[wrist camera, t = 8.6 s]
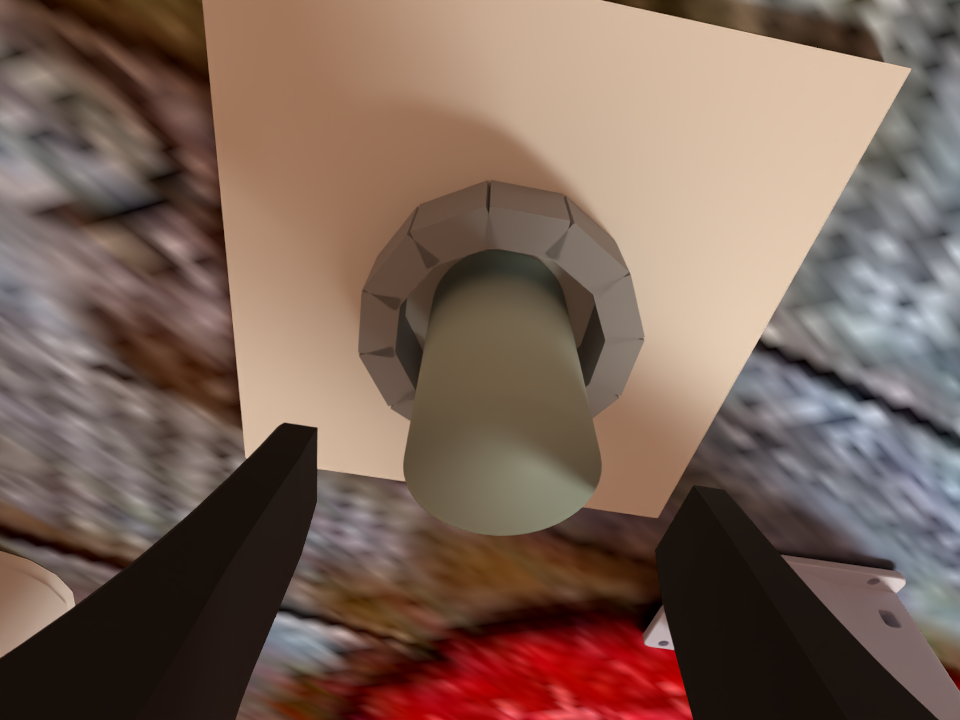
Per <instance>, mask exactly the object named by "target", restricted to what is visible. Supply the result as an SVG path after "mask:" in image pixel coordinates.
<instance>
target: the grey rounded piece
mask: <svg viewBox="0 0 960 720" xmlns="http://www.w3.org/2000/svg"><path fill="white" fill-rule="evenodd" d="M403 472H404V477H405V481H406V484H407V486H408V489H409V491H410V493H411V494H412V496H413V497H414V499H415V500H416V501H417V502H418V503H419V504H420V505H421V507H423V508H424V509H425V510H426V511H427V512H428V513H430V514H431V515H433V516H434V517H436V518H437V519H439V520H441V521H442V522H444V523H446V524H448V525H451V526H453V527H456V528H458V529H462V530H465V531H469V532H473V533H478V534H485V535H501V536H505V535H519V534H526V533H531V532H535V531H539V530H542V529H545V528H549V527H551V526H553V525H556V524H558V523H560V522H562V521H564V520H565V519H567V518H569V517H570V516H572V515H573V514H575V513H576V512H577V511H578V510H580V509H581V508H582V507H583V506H584V505H585V504H586V503H587V501H588V500H589V499H590V498H591V496H592V495H593V493H594V492H595V490H596V488H597V486H598V483H599V481H600V476H601V472H602V460H601V454H600V449H599V445H598V441H597V436H596V432H595V428H594V423H593V419H592V414H591V410H590V406H589V401H588V397H587V392H586V388H585V384H584V379H583V375H582V371H581V366H580V362H579V357H578V353H577V349H576V344H575V340H574V336H573V331H572V327H571V322H570V318H569V314H568V309H567V305H566V300H565V296H564V293H563V290H562V287H561V285H560V283H559V281H558V279H557V278H556V277H555V275H554V274H553V273H552V272H551V271H550V269H549V268H548V267H546V266H545V265H544V264H543V263H541V262H540V261H538V260H537V259H535V258H533V257H531V256H529V255H526V254H523V253H518V252H512V251H507V250H488V251H483V252H479V253H476V254H473V255H470V256H468V257H466V258H464V259H462V260H461V261H459V262H458V263H456V264H455V265H454V266H452V267H451V268H450V269H449V270H448V271H447V272H446V274H445V275H444V276H443V277H442V279H441V280H440V282H439V284H438V286H437V288H436V290H435V293H434V297H433V302H432V307H431V313H430V318H429V324H428V329H427V334H426V340H425V345H424V351H423V356H422V361H421V367H420V372H419V378H418V383H417V388H416V394H415V399H414V405H413V410H412V416H411V421H410V426H409V432H408V437H407V443H406V448H405V453H404V461H403Z"/></svg>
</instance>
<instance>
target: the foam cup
mask: <svg viewBox="0 0 960 720" xmlns="http://www.w3.org/2000/svg"><path fill="white" fill-rule="evenodd" d="M74 606H75V602H74V597H73V592H72V591H71V590H70V589H69V587H68V586H67V585H66V584H65V583H64V582H63V581H62V580H61V579H60V578H59V577H58V576H57V575H56V574H54V573H52V572H50V571H48V570H47V569H45V568H43V567H41V566H40V565H38V564H36V563H34V562H33V561H31V560H28V559H25V558H22V557H19V556H15V555H12V554H9V553H6V552H3V551H0V658H1V657H2V656H4V655H5V654H7V653H8V652H10V651H11V650H13V649H14V648H16V647H17V646H19V645H20V644H22V643H23V642H25V641H26V640H27V639H29V638H30V637H32V636H33V635H35V634H36V633H37V632H39V631H40V630H42V629H43V628H45V627H46V626H47V625H49V624H50V623H52V622H53V621H55V620H56V619H57V618H59V617H60V616H62V615H63V614H65V613H66V612H67V611H69V610H70V609H72V608H73V607H74Z"/></svg>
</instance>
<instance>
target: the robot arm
mask: <svg viewBox="0 0 960 720" xmlns="http://www.w3.org/2000/svg"><path fill="white" fill-rule="evenodd" d="M317 439H318V428H317V427H311V426H304V425H298V424H291V423H285V422H284V423H282V424H281V425H279V426H278V427H277V428H276V429H275V430H274V431H273V432H272V433H271V434H270V435H269V436H268V438H267V439H266V440H265V441H264V442H263V443H262V444H261V445H260V446H259V447H258V448H257V449H256V450H255V451H254V452H253V453H252V454H251V455H250V456H249V457H248V458H247V459H246V460H245V461H244V462H243V463H242V464H241V465H240V466H239V467H238V468H237V469H236V470H235V471H234V472H233V473H232V474H231V475H230V476H229V477H228V478H227V479H226V480H225V481H224V482H223V483H222V484H221V485H220V486H219V487H218V488H217V489H216V490H215V491H214V492H212V493H211V494H210V495H209V496H208V497H207V498H206V499H205V500H204V501H203V502H202V503H201V504H200V505H199V506H198V507H197V508H195V509H194V510H193V511H192V512H191V513H190V514H189V515H188V516H187V517H185V518H184V519H183V520H182V521H181V522H180V523H178V524H177V525H176V526H175V527H174V528H173V529H171V530H170V531H169V532H168V533H167V534H166V535H164V536H163V537H162V538H161V539H160V540H159V541H157V542H156V543H155V544H154V545H153V546H152V547H150V548H149V549H148V550H147V551H146V552H144V553H143V554H142V555H141V556H140V557H138V558H137V559H136V560H135V561H133V562H132V563H131V564H130V565H128V566H127V567H126V568H125V569H123V570H122V571H121V572H120V573H118V574H117V575H116V576H114V577H113V578H112V579H111V580H109V581H108V582H107V583H105V584H104V585H103V586H101V587H100V588H99V589H97V590H96V591H95V592H93V593H92V594H91V595H89V596H88V597H87V598H85V599H84V600H83V601H81V602H80V603H79V604H77V605H76V606H74V607H73V608H72V609H70V610H69V611H67V612H66V613H65V614H63V615H62V616H60V617H59V618H57V619H56V620H55V621H53V622H52V623H50V624H49V625H47V626H46V627H45V628H43V629H42V630H40V631H39V632H37V633H36V634H35V635H33V636H32V637H30V638H29V639H27V640H26V641H25V642H23V643H22V644H20V645H19V646H17V647H16V648H14V649H13V650H11V651H10V652H8V653H7V654H5V655H4V656H2V657H1V658H0V720H235V719H236V716H237V713H238V710H239V707H240V704H241V701H242V698H243V695H244V693H245V690H246V687H247V685H248V682H249V680H250V677H251V674H252V672H253V669H254V667H255V665H256V662H257V660H258V657H259V655H260V653H261V650H262V648H263V645H264V643H265V641H266V638H267V636H268V634H269V631H270V629H271V626H272V624H273V622H274V619H275V617H276V614H277V612H278V610H279V607H280V605H281V602H282V600H283V598H284V595H285V593H286V590H287V588H288V586H289V583H290V581H291V578H292V576H293V573H294V571H295V569H296V566H297V564H298V561H299V559H300V556H301V554H302V551H303V547H304V544H305V541H306V537H307V534H308V531H309V527H310V524H311V520H312V517H313V513H314V510H315V506H316V503H317ZM655 552H656V560H657V569H658V577H659V584H660V591H661V597H662V603H663V605H662V607H661V608H660V610H659V611H658V613H657V614H656V616H655V617H654V619H653V620H652V622H651V623H650V625H649V626H648V628H647V629H646V631H645V632H644V634H643V641H644V644H646V645H647V646H650V647H657V648H665V649H673V650H675V654H676V657H677V661H678V665H679V668H680V672H681V676H682V679H683V683H684V687H685V691H686V694H687V698H688V702H689V705H690V709H691V713H692V716H693V720H960V692H959V690H958V688H957V687H956V685H955V684H954V682H953V681H952V679H951V678H950V676H949V675H948V673H947V672H946V670H945V668H944V667H943V665H942V664H941V662H940V661H939V659H938V658H937V656H936V655H935V653H934V652H933V650H932V648H931V647H930V645H929V644H928V642H927V641H926V639H925V638H924V636H923V635H922V633H921V632H920V630H919V629H918V627H917V625H916V624H915V622H914V621H913V619H912V618H911V616H910V615H909V613H908V612H907V610H906V609H905V607H904V605H903V604H902V602H901V601H900V599H899V598H898V596H897V595H896V593H897V592H898V591H899V590H900V589H901V588H902V587H903V586H904V585H905V583H906V580H905V578H904V577H903V575H902V574H901V573H900V572H897V571H892V570H885V569H878V568H871V567H864V566H857V565H850V564H843V563H836V562H829V561H822V560H815V559H808V558H801V557H794V556H787V555H780V554H779V552H778V551H777V550H776V549H775V548H774V547H773V545H772V544H771V543H770V542H769V541H768V540H767V538H766V537H765V536H764V535H763V534H762V533H761V531H760V530H759V529H758V528H757V527H756V526H755V524H754V523H753V522H752V521H751V520H750V519H749V517H748V516H747V515H746V514H745V513H744V512H743V511H742V509H741V508H740V507H739V506H738V505H737V504H736V503H735V501H734V500H733V499H732V498H731V497H730V496H729V495H728V494H727V493H726V492H725V491H724V490H721V489H715V488H708V487H702V486H695V485H694V486H693V487H692V489H691V491H690V492H689V494H688V496H687V497H686V499H685V501H684V503H683V504H682V506H681V508H680V509H679V511H678V513H677V514H676V516H675V518H674V520H673V521H672V523H671V525H670V526H669V528H668V530H667V531H666V533H665V535H664V537H663V538H662V540H661V542H660V543H659V545H658V547H657V548H656V550H655Z"/></svg>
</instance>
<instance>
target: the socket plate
mask: <svg viewBox="0 0 960 720" xmlns="http://www.w3.org/2000/svg"><path fill="white" fill-rule="evenodd" d="M202 4H203V14H204V25H205V35H206V46H207V56H208V67H209V77H210V88H211V98H212V109H213V119H214V130H215V141H216V151H217V162H218V172H219V183H220V193H221V204H222V214H223V225H224V235H225V246H226V256H227V267H228V278H229V288H230V299H231V309H232V320H233V330H234V341H235V351H236V362H237V372H238V383H239V393H240V404H241V414H242V425H243V436H244V446H245V457H246V458H248V457H249V456H250V455H251V454H252V453H253V452H254V451H255V450H256V449H257V448H258V447H259V446H260V445H261V444H262V443H263V442H264V441H265V440H266V439H267V438H268V436H269V435H270V434H271V433H272V432H273V431H274V430H275V429H276V428H277V427H278V426H279V425H281V424H282V423H284V422H285V423H291V424H298V425H304V426H311V427H317V428H318V439H317V469H324V470H331V471H338V472H344V473H351V474H358V475H365V476H372V477H379V478H386V479H392V480H399V481H405V477H404V472H403V461H404V453H405V448H406V443H407V437H408V432H409V426H410V421H411V416H412V410H413V405H414V399H415V394H416V388H417V383H418V378H419V372H420V367H421V361H422V356H423V351H424V345H425V340H426V334H427V329H428V324H429V318H430V313H431V307H432V302H433V297H434V293H435V290H436V288H437V286H438V284H439V282H440V280H441V279H442V277H443V276H444V275H445V274H446V272H447V271H448V270H449V269H450V268H451V267H452V266H454V265H455V264H456V263H458V262H459V261H461V260H462V259H464V258H466V257H468V256H470V255H473V254H476V253H479V252H483V251H488V250H507V251H512V252H518V253H523V254H526V255H529V256H531V257H533V258H535V259H537V260H538V261H540V262H541V263H543V264H544V265H545V266H546V267H548V268H549V269H550V271H551V272H552V273H553V274H554V275H555V277H556V278H557V279H558V281H559V283H560V285H561V287H562V290H563V293H564V296H565V300H566V305H567V309H568V314H569V318H570V322H571V327H572V331H573V336H574V340H575V344H576V349H577V353H578V357H579V362H580V366H581V371H582V375H583V379H584V384H585V388H586V392H587V397H588V401H589V406H590V410H591V414H592V419H593V423H594V428H595V432H596V436H597V441H598V445H599V449H600V454H601V460H602V472H601V476H600V481H599V483H598V486H597V488H596V490H595V492H594V493H593V495H592V496H591V498H590V499H589V500H588V501H587V503H586V504H585V505H584V506H583V507H584V508H591V509H598V510H605V511H612V512H618V513H625V514H632V515H639V516H646V517H653V518H658V517H659V515H660V513H661V512H662V510H663V508H664V506H665V504H666V503H667V501H668V499H669V497H670V496H671V494H672V492H673V490H674V488H675V487H676V485H677V483H678V481H679V480H680V478H681V476H682V474H683V473H684V471H685V469H686V467H687V465H688V464H689V462H690V460H691V458H692V457H693V455H694V453H695V451H696V450H697V448H698V446H699V444H700V442H701V441H702V439H703V437H704V435H705V434H706V432H707V430H708V428H709V426H710V425H711V423H712V421H713V419H714V418H715V416H716V414H717V412H718V411H719V409H720V407H721V405H722V403H723V402H724V400H725V398H726V396H727V395H728V393H729V391H730V389H731V388H732V386H733V384H734V382H735V380H736V379H737V377H738V375H739V373H740V372H741V370H742V368H743V366H744V365H745V363H746V361H747V359H748V357H749V356H750V354H751V352H752V350H753V349H754V347H755V345H756V343H757V341H758V340H759V338H760V336H761V334H762V333H763V331H764V329H765V327H766V326H767V324H768V322H769V320H770V318H771V317H772V315H773V313H774V311H775V310H776V308H777V306H778V304H779V303H780V301H781V299H782V297H783V295H784V294H785V292H786V290H787V288H788V287H789V285H790V283H791V281H792V280H793V278H794V276H795V274H796V272H797V271H798V269H799V267H800V265H801V264H802V262H803V260H804V258H805V256H806V255H807V253H808V251H809V249H810V248H811V246H812V244H813V242H814V241H815V239H816V237H817V235H818V233H819V232H820V230H821V228H822V226H823V225H824V223H825V221H826V219H827V218H828V216H829V214H830V212H831V210H832V209H833V207H834V205H835V203H836V202H837V200H838V198H839V196H840V195H841V193H842V191H843V189H844V187H845V186H846V184H847V182H848V180H849V179H850V177H851V175H852V173H853V171H854V170H855V168H856V166H857V164H858V163H859V161H860V159H861V157H862V156H863V154H864V152H865V150H866V148H867V147H868V145H869V143H870V141H871V140H872V138H873V136H874V134H875V133H876V131H877V129H878V127H879V125H880V124H881V122H882V120H883V118H884V117H885V115H886V113H887V111H888V109H889V108H890V106H891V104H892V102H893V101H894V99H895V97H896V95H897V94H898V92H899V90H900V88H901V86H902V85H903V83H904V81H905V79H906V78H907V76H908V74H909V72H910V71H911V69H910V68H906V67H901V66H897V65H892V64H888V63H883V62H879V61H874V60H870V59H865V58H861V57H856V56H852V55H847V54H843V53H838V52H833V51H829V50H824V49H820V48H815V47H811V46H806V45H802V44H797V43H793V42H788V41H784V40H779V39H775V38H770V37H766V36H761V35H756V34H752V33H747V32H743V31H738V30H734V29H729V28H725V27H720V26H716V25H711V24H707V23H702V22H698V21H693V20H689V19H684V18H679V17H675V16H670V15H666V14H661V13H657V12H652V11H648V10H643V9H639V8H634V7H630V6H625V5H621V4H616V3H611V2H607V1H602V0H202Z"/></svg>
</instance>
